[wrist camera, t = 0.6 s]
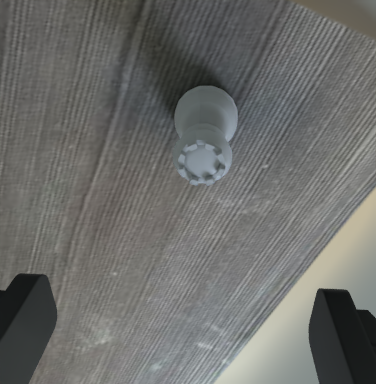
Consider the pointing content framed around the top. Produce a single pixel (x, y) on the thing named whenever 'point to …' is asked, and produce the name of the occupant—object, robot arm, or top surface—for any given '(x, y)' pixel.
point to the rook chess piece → (204, 134)
